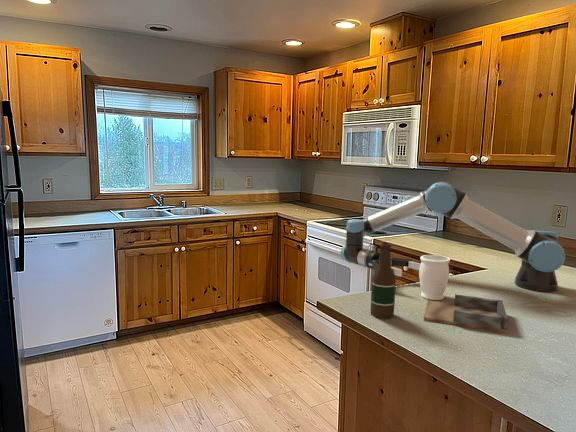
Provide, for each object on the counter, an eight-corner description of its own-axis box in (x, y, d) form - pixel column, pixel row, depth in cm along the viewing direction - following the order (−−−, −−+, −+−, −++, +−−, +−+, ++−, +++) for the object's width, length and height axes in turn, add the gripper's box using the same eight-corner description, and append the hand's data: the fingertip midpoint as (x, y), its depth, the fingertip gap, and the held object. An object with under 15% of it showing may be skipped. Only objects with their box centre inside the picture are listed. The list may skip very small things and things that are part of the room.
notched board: (502, 313, 141) (503, 300, 141) (507, 333, 126) (508, 318, 125) (427, 303, 150) (428, 290, 150) (423, 320, 135) (424, 306, 134)
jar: (424, 290, 165) (426, 252, 162) (451, 296, 158) (454, 257, 156) (413, 297, 156) (415, 257, 154) (441, 303, 150) (444, 262, 148)
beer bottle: (365, 314, 139) (368, 243, 135) (378, 308, 144) (381, 239, 141) (385, 321, 133) (389, 247, 130) (398, 314, 139) (402, 243, 135)
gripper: (389, 263, 188) (430, 274, 172) (349, 272, 173) (390, 285, 157) (389, 247, 187) (431, 256, 170) (350, 254, 172) (391, 265, 155)
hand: (412, 270), depth 163 cm, fingers open, 13 cm apart
